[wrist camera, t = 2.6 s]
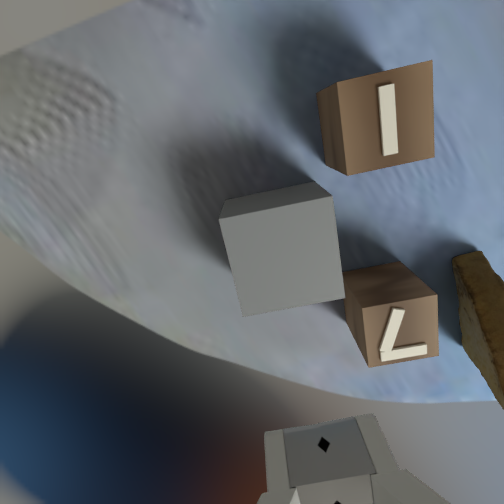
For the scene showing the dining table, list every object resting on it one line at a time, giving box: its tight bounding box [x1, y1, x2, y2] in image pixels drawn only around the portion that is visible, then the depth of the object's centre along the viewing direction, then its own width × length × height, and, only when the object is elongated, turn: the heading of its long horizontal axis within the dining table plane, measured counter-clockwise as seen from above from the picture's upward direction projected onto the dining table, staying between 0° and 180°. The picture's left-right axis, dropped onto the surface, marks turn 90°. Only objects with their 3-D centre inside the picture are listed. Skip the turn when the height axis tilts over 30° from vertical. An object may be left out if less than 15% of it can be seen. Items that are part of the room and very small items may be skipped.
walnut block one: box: [316, 60, 435, 176], centre depth 21 cm, size 5×5×6 cm
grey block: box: [219, 181, 345, 317], centre depth 24 cm, size 7×7×6 cm
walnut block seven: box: [342, 261, 439, 368], centre depth 26 cm, size 5×5×6 cm
